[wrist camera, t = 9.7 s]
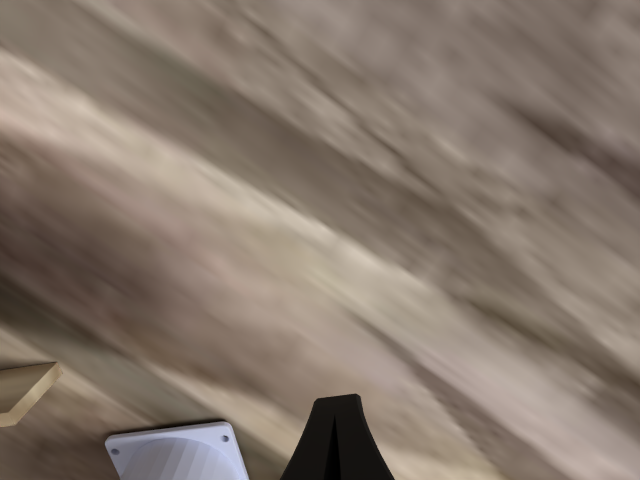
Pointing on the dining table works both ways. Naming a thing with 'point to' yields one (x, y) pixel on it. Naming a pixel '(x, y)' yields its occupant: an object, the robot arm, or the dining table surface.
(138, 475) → the robot arm
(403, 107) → the dining table surface
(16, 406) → the lane
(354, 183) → the dining table surface
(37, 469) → the dining table surface
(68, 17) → the dining table surface
